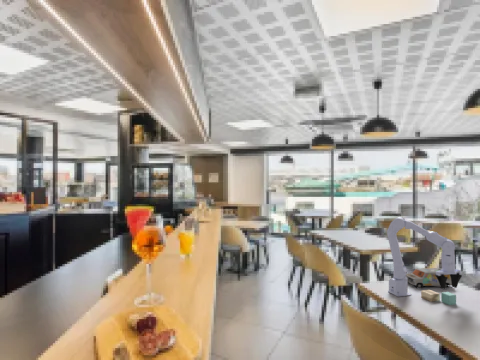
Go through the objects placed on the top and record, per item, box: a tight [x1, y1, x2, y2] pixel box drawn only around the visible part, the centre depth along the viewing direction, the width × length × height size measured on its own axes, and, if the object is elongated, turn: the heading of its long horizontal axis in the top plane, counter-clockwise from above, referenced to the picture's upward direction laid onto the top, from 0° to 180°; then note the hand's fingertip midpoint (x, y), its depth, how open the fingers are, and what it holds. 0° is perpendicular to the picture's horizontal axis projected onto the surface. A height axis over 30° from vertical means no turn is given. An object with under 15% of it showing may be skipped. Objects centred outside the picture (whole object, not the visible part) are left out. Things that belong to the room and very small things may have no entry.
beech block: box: [420, 289, 441, 302], centre depth 158 cm, size 6×6×4 cm
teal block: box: [440, 291, 457, 306], centre depth 153 cm, size 4×4×5 cm
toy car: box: [406, 267, 452, 289], centre depth 180 cm, size 11×25×10 cm, turn 92°
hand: (448, 287), depth 153 cm, fingers open, 7 cm apart
